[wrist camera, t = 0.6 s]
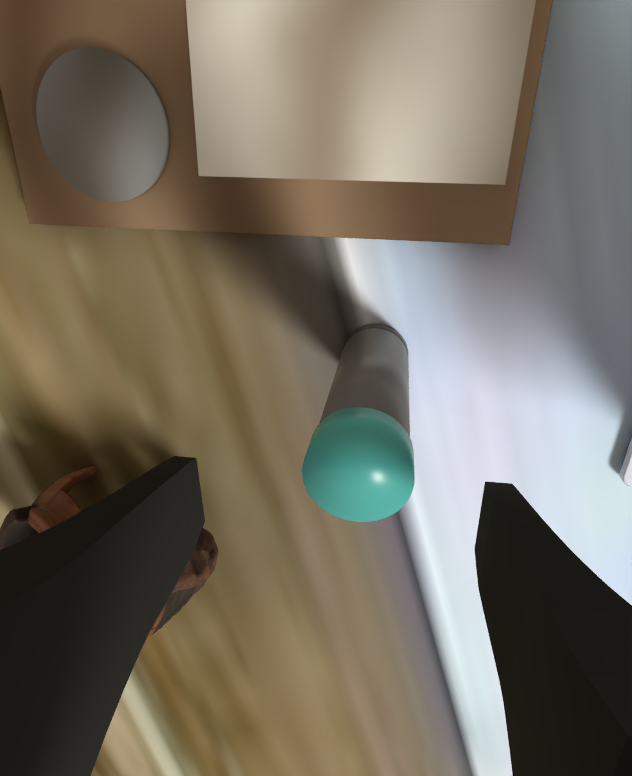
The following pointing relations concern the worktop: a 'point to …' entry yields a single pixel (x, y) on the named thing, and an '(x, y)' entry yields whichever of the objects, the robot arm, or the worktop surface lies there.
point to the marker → (364, 431)
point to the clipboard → (274, 114)
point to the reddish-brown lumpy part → (61, 507)
